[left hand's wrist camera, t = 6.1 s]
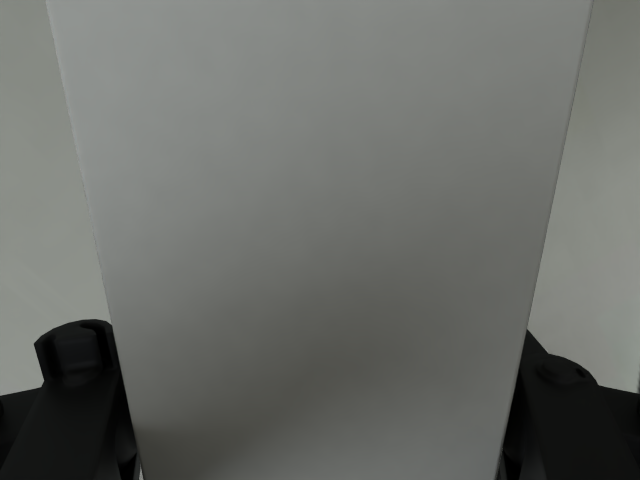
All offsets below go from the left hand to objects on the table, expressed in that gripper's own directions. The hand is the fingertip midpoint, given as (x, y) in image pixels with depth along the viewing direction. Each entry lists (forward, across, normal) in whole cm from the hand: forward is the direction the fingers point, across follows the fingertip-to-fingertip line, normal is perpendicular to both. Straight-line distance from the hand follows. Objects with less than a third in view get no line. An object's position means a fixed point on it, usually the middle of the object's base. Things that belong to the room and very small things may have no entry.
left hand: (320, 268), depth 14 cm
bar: (0, 0, -10) cm, 10 cm away
